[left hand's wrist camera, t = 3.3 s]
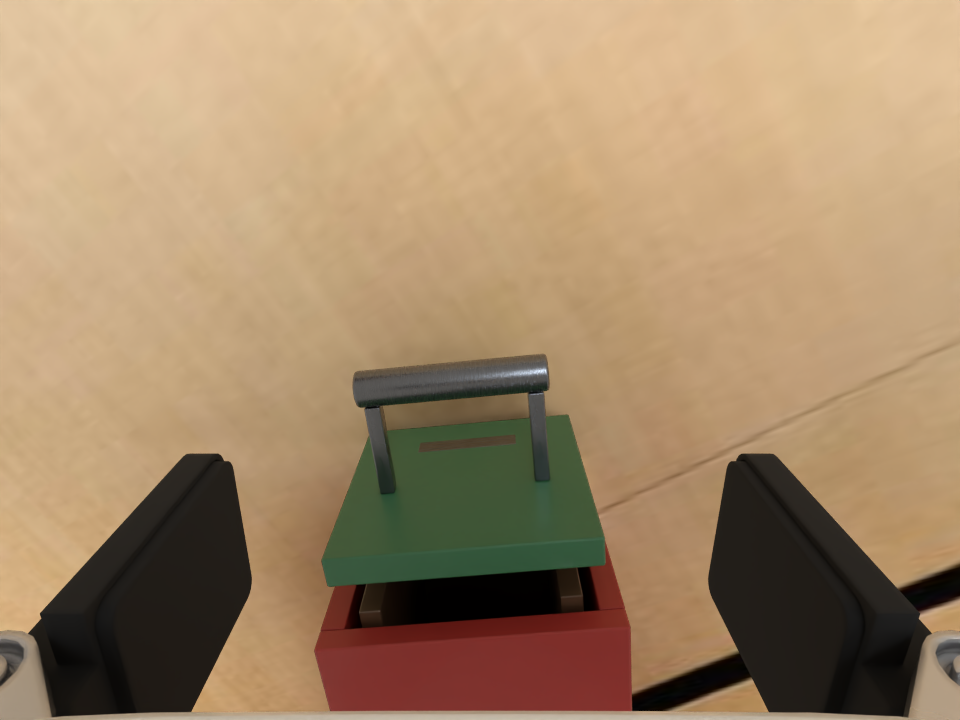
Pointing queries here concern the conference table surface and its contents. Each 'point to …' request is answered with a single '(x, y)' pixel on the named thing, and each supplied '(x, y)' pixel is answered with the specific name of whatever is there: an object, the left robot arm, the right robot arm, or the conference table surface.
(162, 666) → the left robot arm
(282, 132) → the conference table surface
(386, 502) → the drawer
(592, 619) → the cabinet
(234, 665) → the conference table surface
